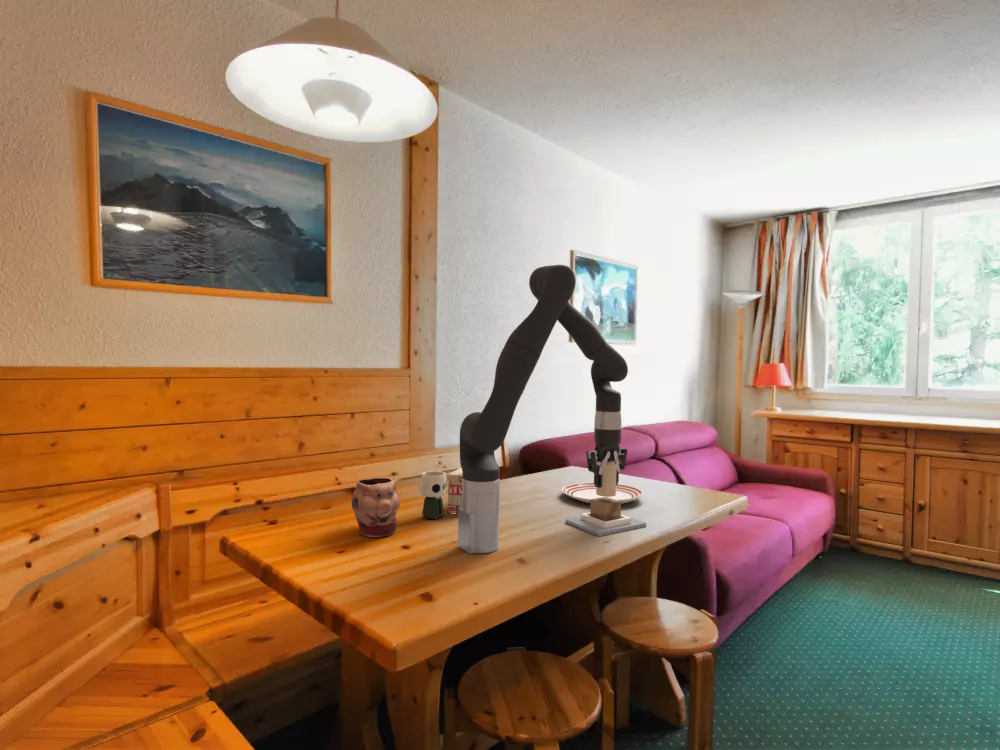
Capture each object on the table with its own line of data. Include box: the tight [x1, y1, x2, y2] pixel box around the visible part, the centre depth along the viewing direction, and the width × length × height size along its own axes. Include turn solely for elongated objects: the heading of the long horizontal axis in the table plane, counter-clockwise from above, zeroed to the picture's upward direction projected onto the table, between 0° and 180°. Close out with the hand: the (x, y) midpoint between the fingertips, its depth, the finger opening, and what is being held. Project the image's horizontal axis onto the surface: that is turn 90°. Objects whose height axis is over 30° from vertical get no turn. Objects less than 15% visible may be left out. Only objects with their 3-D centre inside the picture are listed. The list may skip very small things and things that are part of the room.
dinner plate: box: [561, 481, 644, 505], centre depth 186 cm, size 27×27×3 cm
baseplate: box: [564, 511, 647, 537], centre depth 155 cm, size 18×14×2 cm
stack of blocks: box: [447, 467, 462, 515], centre depth 173 cm, size 21×6×12 cm, turn 164°
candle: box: [596, 461, 617, 497], centre depth 155 cm, size 6×6×10 cm
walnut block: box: [589, 497, 622, 521], centre depth 155 cm, size 6×6×6 cm
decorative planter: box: [351, 477, 401, 538], centre depth 146 cm, size 20×12×14 cm, turn 36°
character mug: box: [418, 470, 448, 520], centre depth 159 cm, size 11×7×13 cm, turn 140°
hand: (606, 485), depth 155 cm, fingers closed on candle, 5 cm apart
